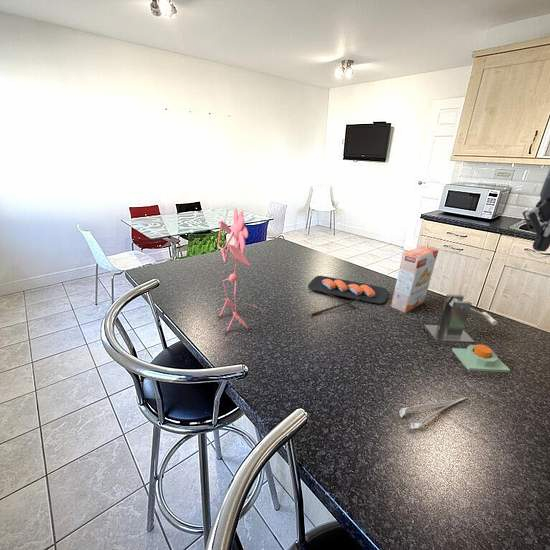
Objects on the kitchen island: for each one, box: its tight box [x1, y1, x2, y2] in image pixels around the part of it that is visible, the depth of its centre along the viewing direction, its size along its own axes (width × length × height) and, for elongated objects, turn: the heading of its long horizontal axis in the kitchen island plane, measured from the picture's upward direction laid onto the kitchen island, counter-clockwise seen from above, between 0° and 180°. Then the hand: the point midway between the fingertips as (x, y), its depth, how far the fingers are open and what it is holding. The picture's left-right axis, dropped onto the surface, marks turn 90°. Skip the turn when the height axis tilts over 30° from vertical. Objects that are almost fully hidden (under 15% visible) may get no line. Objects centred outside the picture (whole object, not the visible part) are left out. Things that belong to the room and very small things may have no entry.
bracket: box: [423, 294, 476, 344], centre depth 85 cm, size 11×8×13 cm
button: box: [474, 343, 493, 358], centre depth 75 cm, size 4×4×2 cm
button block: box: [451, 344, 511, 373], centre depth 76 cm, size 10×8×4 cm
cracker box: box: [390, 245, 439, 314], centre depth 100 cm, size 14×6×21 cm, turn 129°
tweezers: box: [399, 396, 467, 430], centre depth 62 cm, size 18×5×2 cm, turn 112°
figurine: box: [216, 207, 267, 343], centre depth 87 cm, size 15×26×35 cm, turn 23°
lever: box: [449, 298, 498, 326], centre depth 84 cm, size 13×5×2 cm, turn 88°
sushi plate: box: [307, 275, 389, 316], centre depth 106 cm, size 29×30×4 cm
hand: (539, 250), depth 72 cm, fingers closed
